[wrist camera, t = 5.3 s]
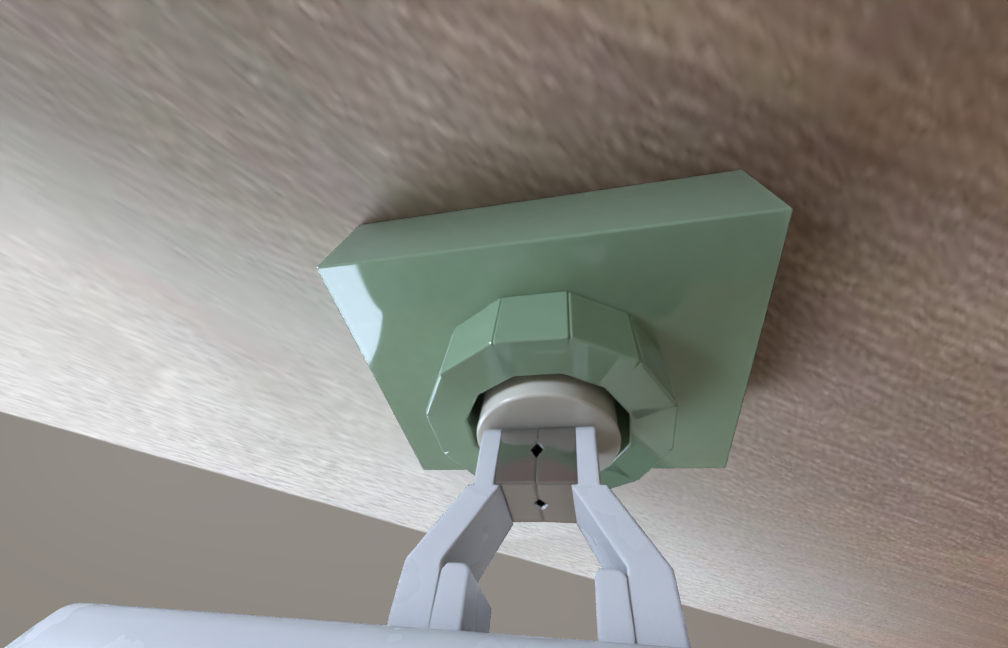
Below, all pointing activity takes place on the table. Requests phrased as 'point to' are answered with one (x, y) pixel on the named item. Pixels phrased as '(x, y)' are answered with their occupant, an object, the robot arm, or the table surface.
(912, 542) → the table surface
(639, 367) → the grey button cap base
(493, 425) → the grey button cap
